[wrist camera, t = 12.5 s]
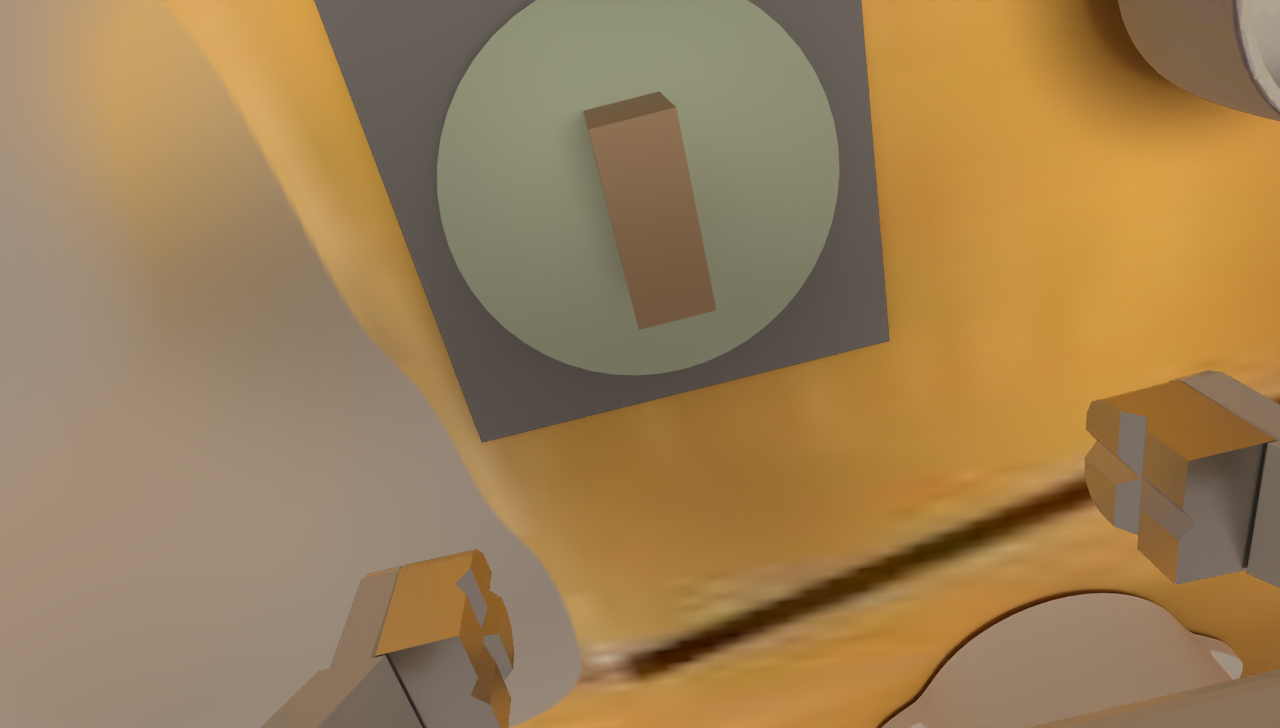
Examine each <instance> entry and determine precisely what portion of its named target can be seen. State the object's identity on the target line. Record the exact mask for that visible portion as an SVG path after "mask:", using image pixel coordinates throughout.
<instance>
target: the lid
mask: <svg viewBox="0 0 1280 728" xmlns="http://www.w3.org/2000/svg"><path fill="white" fill-rule="evenodd" d="M838 184H839V149H838V141H837V135H836V129H835V124H834V119H833V116H832V113H831V109H830V106H829V103H828V100H827V97H826V94H825V92H824V90H823V87H822V85H821V83H820V81H819V79H818V77H817V75H816V73H815V71H814V69H813V67H812V66H811V64H810V63H809V61H808V60H807V58H806V57H805V55H804V54H803V52H802V51H801V49H800V47H799V46H798V45H797V44H796V43H795V42H794V40H793V39H792V38H791V37H790V36H789V35H788V34H787V33H786V31H785V30H784V29H783V28H782V27H781V26H780V25H779V24H778V23H777V22H775V21H774V20H773V19H772V18H771V17H770V16H768V15H767V14H766V13H765V12H764V11H763V10H761V9H760V8H759V7H757V6H756V5H754V4H753V3H751V2H749V1H748V0H536V1H534V2H533V3H532V4H530V5H529V6H527V7H526V8H524V9H523V10H522V11H520V12H519V13H517V14H516V15H515V16H513V17H512V18H511V19H510V20H509V21H508V22H507V23H506V24H505V25H504V26H503V27H502V28H501V29H500V30H498V31H497V32H496V33H495V34H494V35H493V36H492V37H491V38H490V40H489V41H488V42H487V43H486V45H485V46H484V47H483V48H482V50H481V51H480V52H479V53H478V55H477V56H476V57H475V58H474V60H473V61H472V63H471V65H470V66H469V68H468V70H467V72H466V73H465V75H464V77H463V78H462V80H461V82H460V83H459V85H458V88H457V90H456V92H455V95H454V97H453V100H452V102H451V104H450V107H449V109H448V112H447V115H446V119H445V123H444V127H443V130H442V134H441V138H440V145H439V153H438V161H437V195H438V202H439V209H440V216H441V221H442V225H443V228H444V232H445V236H446V239H447V243H448V246H449V248H450V250H451V253H452V255H453V257H454V260H455V262H456V264H457V267H458V269H459V271H460V272H461V274H462V276H463V277H464V279H465V281H466V282H467V284H468V286H469V287H470V289H471V291H472V292H473V293H474V295H475V296H476V297H477V298H478V300H479V301H480V302H481V303H482V305H483V306H484V307H485V309H486V310H487V311H488V312H489V313H490V314H491V315H492V316H493V317H494V318H495V319H496V320H497V321H498V322H499V323H500V324H501V325H502V326H503V327H504V328H506V329H507V330H508V331H509V332H511V333H512V334H513V335H515V336H516V337H517V338H519V339H520V340H521V341H523V342H524V343H526V344H527V345H529V346H531V347H532V348H534V349H536V350H538V351H539V352H541V353H543V354H545V355H547V356H549V357H551V358H554V359H556V360H558V361H561V362H563V363H565V364H568V365H572V366H575V367H579V368H582V369H586V370H589V371H595V372H601V373H607V374H615V375H649V374H661V373H666V372H671V371H676V370H682V369H685V368H688V367H692V366H695V365H698V364H701V363H704V362H707V361H709V360H711V359H713V358H716V357H718V356H720V355H722V354H725V353H727V352H729V351H730V350H732V349H734V348H735V347H737V346H739V345H740V344H742V343H744V342H745V341H747V340H748V339H750V338H751V337H752V336H754V335H755V334H756V333H758V332H759V331H760V330H762V329H763V328H764V327H766V326H767V325H768V324H769V323H770V322H771V321H772V320H773V319H774V318H775V317H776V316H777V315H778V314H779V313H780V312H781V311H782V310H783V309H784V308H785V307H786V306H787V305H788V303H789V302H790V301H791V300H792V299H793V297H794V296H795V295H796V294H797V292H798V291H799V290H800V288H801V287H802V285H803V284H804V282H805V281H806V279H807V278H808V276H809V274H810V273H811V271H812V270H813V268H814V266H815V264H816V262H817V260H818V258H819V256H820V254H821V251H822V249H823V247H824V245H825V242H826V239H827V236H828V233H829V230H830V227H831V224H832V221H833V216H834V211H835V206H836V202H837V196H838Z"/></svg>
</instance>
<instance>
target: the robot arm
mask: <svg viewBox="0 0 1280 728" xmlns="http://www.w3.org/2000/svg"><path fill="white" fill-rule="evenodd" d="M1086 430H1087V431H1088V432H1089V433H1090V434H1091V435H1092V436H1093V437H1094V438H1095V439H1096V440H1097V441H1096V443H1095V444H1094V446H1093V447H1092V449H1091V450H1090V451H1089V453H1088V454H1087V456H1086V457H1085V480H1086V483H1087V486H1088V489H1089V492H1090V495H1091V498H1092V500H1093V502H1094V503H1095V505H1096V506H1097V508H1098V509H1099V511H1100V512H1101V514H1102V515H1103V516H1104V517H1105V518H1106V519H1107V520H1108V521H1109V522H1110V523H1111V524H1112V525H1113V526H1115V527H1118V528H1121V529H1123V530H1126V531H1129V532H1132V533H1135V534H1138V550H1139V551H1140V552H1141V553H1142V554H1143V555H1145V556H1146V557H1147V558H1148V559H1149V560H1150V561H1151V562H1152V563H1153V564H1154V565H1155V566H1156V567H1157V568H1158V569H1159V570H1160V571H1161V572H1162V573H1163V574H1165V575H1166V576H1167V577H1168V578H1169V579H1170V580H1171V581H1172V582H1173V583H1174V584H1175V585H1176V584H1181V583H1186V582H1190V581H1195V580H1200V579H1205V578H1210V577H1214V576H1219V575H1224V574H1229V573H1234V572H1238V571H1243V570H1247V574H1250V575H1252V576H1254V577H1256V578H1259V579H1261V580H1263V581H1266V582H1268V583H1270V584H1272V585H1275V586H1277V587H1279V588H1280V405H1279V404H1278V403H1276V402H1274V401H1272V400H1271V399H1269V398H1267V397H1265V396H1263V395H1262V394H1260V393H1258V392H1256V391H1255V390H1253V389H1251V388H1249V387H1247V386H1246V385H1244V384H1242V383H1240V382H1239V381H1237V380H1235V379H1233V378H1232V377H1230V376H1228V375H1226V374H1224V373H1223V372H1217V371H1210V370H1207V371H1204V372H1200V373H1196V374H1193V375H1189V376H1185V377H1182V378H1178V379H1174V380H1171V381H1169V382H1168V383H1164V384H1160V385H1156V386H1152V387H1148V388H1144V389H1140V390H1136V391H1132V392H1128V393H1124V394H1120V395H1116V396H1112V397H1108V398H1104V399H1100V400H1096V401H1092V402H1091V405H1090V407H1089V409H1088V411H1087V419H1086ZM490 581H491V570H490V568H489V566H488V564H487V561H486V559H485V557H484V555H483V553H482V552H480V551H479V550H477V549H476V550H471V551H467V552H462V553H458V554H453V555H449V556H444V557H439V558H435V559H430V560H425V561H421V562H416V563H412V564H407V565H405V566H399V567H395V568H391V569H386V570H382V571H378V572H374V573H370V574H368V575H367V576H365V577H364V578H363V579H362V580H361V582H360V585H359V588H358V591H357V593H356V597H355V599H354V602H353V605H352V608H351V610H350V613H349V616H348V619H347V622H346V624H345V628H344V630H343V633H342V636H341V639H340V641H339V644H338V647H337V650H336V653H335V655H334V658H333V661H332V664H331V667H330V668H329V669H325V670H321V671H318V672H317V673H316V674H315V675H314V676H313V677H312V678H311V679H310V680H309V681H308V682H307V683H306V684H305V685H304V686H303V687H302V688H301V689H300V690H299V691H298V692H296V693H295V695H294V696H292V697H291V698H290V699H289V700H288V701H287V702H286V703H285V704H284V705H283V706H282V707H281V708H280V709H279V710H278V711H277V712H276V713H275V714H274V715H273V716H272V717H271V718H270V719H269V720H268V721H267V722H266V723H265V724H264V725H263V726H262V727H261V728H508V727H509V714H510V703H511V702H510V701H511V697H510V695H509V692H508V690H507V687H506V685H505V683H504V680H505V679H506V678H507V677H508V675H509V674H510V673H511V672H512V670H513V662H514V647H513V637H512V628H511V624H510V620H509V617H508V613H507V610H506V607H505V605H504V602H503V600H502V598H501V597H499V596H498V595H496V594H494V593H493V592H491V591H489V590H490ZM1242 670H1243V663H1242V661H1241V660H1240V658H1239V657H1238V656H1237V655H1236V654H1235V652H1234V651H1233V650H1232V649H1231V648H1230V646H1229V645H1228V644H1226V643H1224V642H1222V641H1220V640H1217V639H1214V638H1210V637H1206V636H1201V635H1197V634H1193V633H1191V632H1190V631H1188V630H1187V629H1186V628H1185V627H1183V626H1182V625H1181V623H1180V622H1179V621H1178V620H1177V619H1176V618H1175V617H1174V616H1173V615H1172V614H1170V613H1169V612H1168V611H1167V610H1165V609H1164V608H1162V607H1161V606H1159V605H1157V604H1155V603H1153V602H1150V601H1148V600H1145V599H1142V598H1139V597H1135V596H1130V595H1124V594H1114V593H1093V594H1082V595H1075V596H1069V597H1064V598H1060V599H1056V600H1052V601H1048V602H1045V603H1042V604H1039V605H1036V606H1033V607H1030V608H1028V609H1025V610H1023V611H1021V612H1018V613H1016V614H1014V615H1012V616H1010V617H1008V618H1006V619H1004V620H1002V621H1000V622H998V623H997V624H995V625H993V626H991V627H990V628H988V629H987V630H985V631H984V632H982V633H981V634H979V635H978V636H976V637H975V638H974V639H972V640H971V641H970V642H968V643H967V644H966V645H965V646H964V647H962V648H961V649H960V650H959V651H958V652H957V653H956V654H955V655H954V656H953V657H952V658H951V659H950V660H949V661H948V662H947V663H946V664H945V665H944V666H943V667H942V669H941V670H940V671H939V672H938V674H937V675H936V676H935V678H934V679H933V681H932V682H931V683H930V685H929V686H928V687H927V689H926V690H925V691H924V693H923V694H922V695H921V696H920V697H919V698H918V700H917V701H916V702H915V703H913V704H912V705H910V706H909V707H907V708H906V709H904V710H903V711H902V712H900V713H899V714H898V715H896V716H895V717H893V718H892V719H891V720H890V721H888V722H887V723H886V724H885V725H884V726H882V727H881V728H1280V669H1278V670H1273V671H1269V672H1265V673H1260V674H1256V675H1252V676H1247V677H1243V678H1240V676H1241V673H1242Z"/></svg>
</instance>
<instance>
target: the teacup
mask: <svg viewBox="0 0 1280 728" xmlns="http://www.w3.org/2000/svg"><path fill="white" fill-rule="evenodd" d="M1118 4H1119V8H1120V12H1121V17H1122V20H1123V22H1124V25H1125V27H1126V30H1127V32H1128V34H1129V36H1130V38H1131V40H1132V42H1133V44H1134V46H1135V47H1136V48H1137V50H1138V51H1139V52H1140V54H1141V55H1142V56H1143V58H1144V59H1145V60H1146V61H1147V63H1148V64H1149V65H1150V66H1151V67H1152V68H1153V69H1154V70H1155V71H1156V72H1157V73H1158V74H1160V75H1161V76H1163V77H1164V78H1165V79H1167V80H1168V81H1170V82H1171V83H1172V84H1174V85H1175V86H1177V87H1179V88H1181V89H1183V90H1185V91H1187V92H1189V93H1191V94H1193V95H1195V96H1197V97H1200V98H1202V99H1205V100H1207V101H1210V102H1213V103H1216V104H1219V105H1222V106H1225V107H1228V108H1231V109H1235V110H1238V111H1242V112H1245V113H1249V114H1253V115H1256V116H1260V117H1264V118H1268V119H1272V120H1276V121H1280V0H1118Z"/></svg>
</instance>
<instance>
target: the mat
mask: <svg viewBox="0 0 1280 728" xmlns="http://www.w3.org/2000/svg"><path fill="white" fill-rule="evenodd" d="M314 1H315V3H316V6H317V9H318V11H319V14H320V16H321V19H322V22H323V24H324V27H325V30H326V32H327V35H328V38H329V40H330V43H331V46H332V48H333V51H334V53H335V56H336V59H337V61H338V64H339V67H340V69H341V72H342V75H343V77H344V80H345V82H346V85H347V88H348V90H349V93H350V96H351V98H352V101H353V104H354V106H355V109H356V112H357V114H358V117H359V119H360V122H361V125H362V127H363V130H364V133H365V135H366V138H367V141H368V143H369V146H370V148H371V151H372V154H373V156H374V159H375V162H376V164H377V167H378V170H379V172H380V175H381V178H382V180H383V183H384V185H385V188H386V191H387V193H388V196H389V199H390V201H391V204H392V207H393V209H394V212H395V214H396V217H397V220H398V222H399V225H400V228H401V230H402V233H403V236H404V238H405V241H406V244H407V246H408V249H409V251H410V254H411V257H412V259H413V262H414V265H415V267H416V270H417V273H418V275H419V278H420V280H421V283H422V286H423V288H424V291H425V294H426V296H427V299H428V302H429V304H430V307H431V310H432V312H433V315H434V317H435V320H436V323H437V325H438V328H439V331H440V333H441V336H442V339H443V341H444V344H445V346H446V349H447V352H448V354H449V357H450V360H451V362H452V365H453V368H454V370H455V373H456V376H457V378H458V381H459V383H460V386H461V389H462V391H463V394H464V397H465V399H466V402H467V405H468V407H469V410H470V413H471V415H472V418H473V420H474V423H475V426H476V428H477V431H478V434H479V436H480V439H481V442H486V441H490V440H494V439H498V438H502V437H506V436H510V435H514V434H518V433H522V432H526V431H530V430H534V429H538V428H542V427H546V426H550V425H554V424H558V423H562V422H566V421H570V420H574V419H578V418H582V417H586V416H590V415H594V414H598V413H602V412H606V411H610V410H614V409H618V408H622V407H626V406H630V405H634V404H639V403H643V402H647V401H651V400H655V399H659V398H663V397H667V396H671V395H675V394H679V393H683V392H687V391H691V390H695V389H699V388H703V387H707V386H711V385H715V384H719V383H723V382H727V381H731V380H735V379H739V378H743V377H747V376H751V375H755V374H759V373H763V372H767V371H771V370H775V369H779V368H783V367H787V366H791V365H795V364H799V363H803V362H807V361H811V360H815V359H819V358H823V357H827V356H831V355H835V354H839V353H843V352H847V351H851V350H855V349H859V348H863V347H867V346H871V345H875V344H879V343H883V342H887V341H889V329H888V317H887V305H886V293H885V281H884V269H883V257H882V245H881V233H880V221H879V209H878V197H877V185H876V173H875V161H874V149H873V137H872V125H871V113H870V101H869V89H868V77H867V65H866V53H865V41H864V29H863V17H862V5H861V0H748V1H749V2H751V3H753V4H754V5H756V6H757V7H759V8H760V9H761V10H763V11H764V12H765V13H766V14H767V15H768V16H770V17H771V18H772V19H773V20H774V21H775V22H777V23H778V24H779V25H780V26H781V27H782V28H783V29H784V30H785V31H786V33H787V34H788V35H789V36H790V37H791V38H792V39H793V40H794V42H795V43H796V44H797V45H798V46H799V47H800V49H801V51H802V52H803V54H804V55H805V57H806V58H807V60H808V61H809V63H810V64H811V66H812V67H813V69H814V71H815V73H816V75H817V77H818V79H819V81H820V83H821V85H822V87H823V90H824V92H825V94H826V97H827V100H828V103H829V106H830V109H831V113H832V116H833V119H834V124H835V129H836V135H837V141H838V149H839V184H838V196H837V202H836V206H835V211H834V216H833V221H832V224H831V227H830V230H829V233H828V236H827V239H826V242H825V245H824V247H823V249H822V251H821V254H820V256H819V258H818V260H817V262H816V264H815V266H814V268H813V270H812V271H811V273H810V274H809V276H808V278H807V279H806V281H805V282H804V284H803V285H802V287H801V288H800V290H799V291H798V292H797V294H796V295H795V296H794V297H793V299H792V300H791V301H790V302H789V303H788V305H787V306H786V307H785V308H784V309H783V310H782V311H781V312H780V313H779V314H778V315H777V316H776V317H775V318H774V319H773V320H772V321H771V322H770V323H769V324H768V325H767V326H766V327H764V328H763V329H762V330H760V331H759V332H758V333H756V334H755V335H754V336H752V337H751V338H750V339H748V340H747V341H745V342H744V343H742V344H740V345H739V346H737V347H735V348H734V349H732V350H730V351H729V352H727V353H725V354H722V355H720V356H718V357H716V358H713V359H711V360H709V361H707V362H704V363H701V364H698V365H695V366H692V367H688V368H685V369H682V370H676V371H671V372H666V373H661V374H649V375H615V374H607V373H601V372H595V371H589V370H586V369H582V368H579V367H575V366H572V365H568V364H565V363H563V362H561V361H558V360H556V359H554V358H551V357H549V356H547V355H545V354H543V353H541V352H539V351H538V350H536V349H534V348H532V347H531V346H529V345H527V344H526V343H524V342H523V341H521V340H520V339H519V338H517V337H516V336H515V335H513V334H512V333H511V332H509V331H508V330H507V329H506V328H504V327H503V326H502V325H501V324H500V323H499V322H498V321H497V320H496V319H495V318H494V317H493V316H492V315H491V314H490V313H489V312H488V311H487V310H486V309H485V307H484V306H483V305H482V303H481V302H480V301H479V300H478V298H477V297H476V296H475V295H474V293H473V292H472V291H471V289H470V287H469V286H468V284H467V282H466V281H465V279H464V277H463V276H462V274H461V272H460V271H459V269H458V267H457V264H456V262H455V260H454V257H453V255H452V253H451V250H450V248H449V246H448V243H447V239H446V236H445V232H444V228H443V225H442V221H441V216H440V209H439V202H438V195H437V161H438V153H439V145H440V138H441V134H442V130H443V127H444V123H445V119H446V115H447V112H448V109H449V107H450V104H451V102H452V100H453V97H454V95H455V92H456V90H457V88H458V85H459V83H460V82H461V80H462V78H463V77H464V75H465V73H466V72H467V70H468V68H469V66H470V65H471V63H472V61H473V60H474V58H475V57H476V56H477V55H478V53H479V52H480V51H481V50H482V48H483V47H484V46H485V45H486V43H487V42H488V41H489V40H490V38H491V37H492V36H493V35H494V34H495V33H496V32H497V31H498V30H500V29H501V28H502V27H503V26H504V25H505V24H506V23H507V22H508V21H509V20H510V19H511V18H512V17H513V16H515V15H516V14H517V13H519V12H520V11H522V10H523V9H524V8H526V7H527V6H529V5H530V4H532V3H533V2H534V1H536V0H314Z"/></svg>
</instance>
